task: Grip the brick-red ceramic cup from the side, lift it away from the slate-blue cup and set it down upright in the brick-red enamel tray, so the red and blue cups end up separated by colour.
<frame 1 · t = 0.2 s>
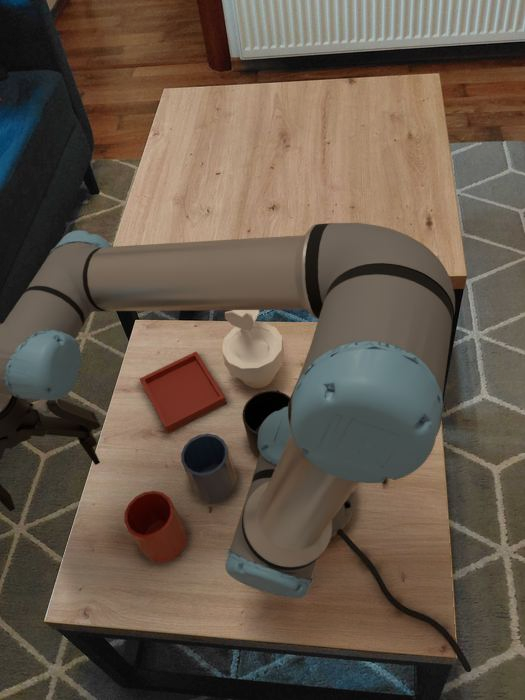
hand: (53, 480, 97), 19 cm above the table, tool pointing down, fingers open, 13 cm apart
potted plant: (260, 374, 129), on the table
knife: (407, 366, 125), on the table
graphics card: (339, 368, 127), on the table
red tray: (183, 393, 128), on the table
red cup: (164, 539, 109), on the table
walkie-talkie: (393, 409, 118), point 1 cm above the table
blue cup: (215, 482, 115), on the table
mug: (276, 434, 120), on the table
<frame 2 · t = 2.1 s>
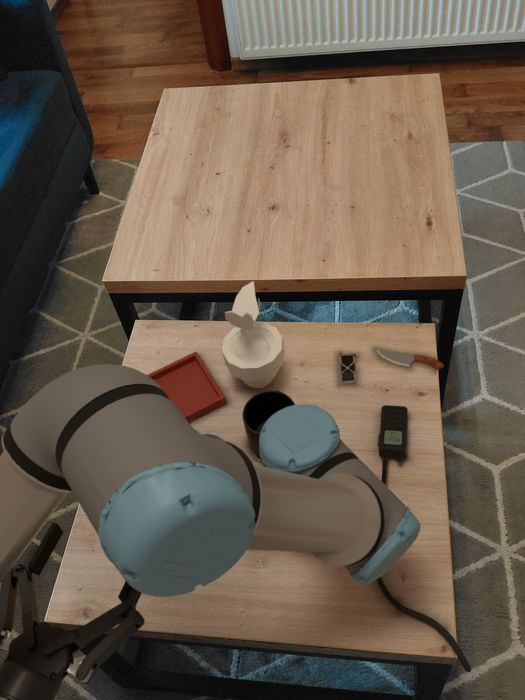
hand: (101, 540, 88), 20 cm above the table, tool horizontal, fingers open, 13 cm apart
nothing on the table moved.
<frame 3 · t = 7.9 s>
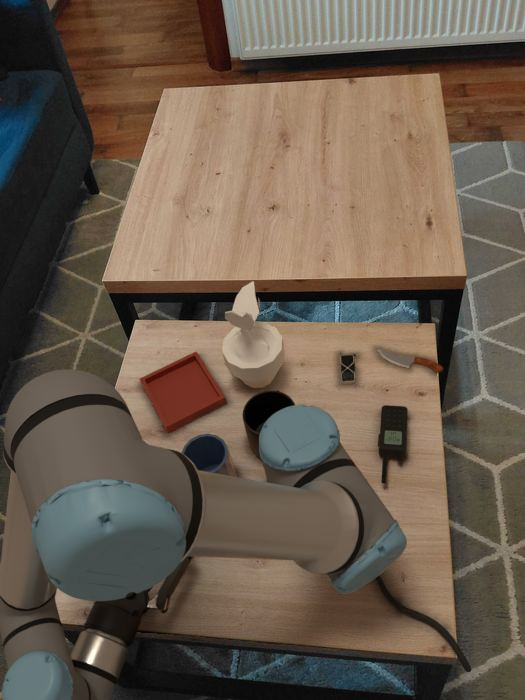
hand: (166, 498, 107), 6 cm above the table, tool horizontal, fingers closed on red cup, 8 cm apart
red cup: (164, 539, 109), on the table, touching gripper
everything else where it was.
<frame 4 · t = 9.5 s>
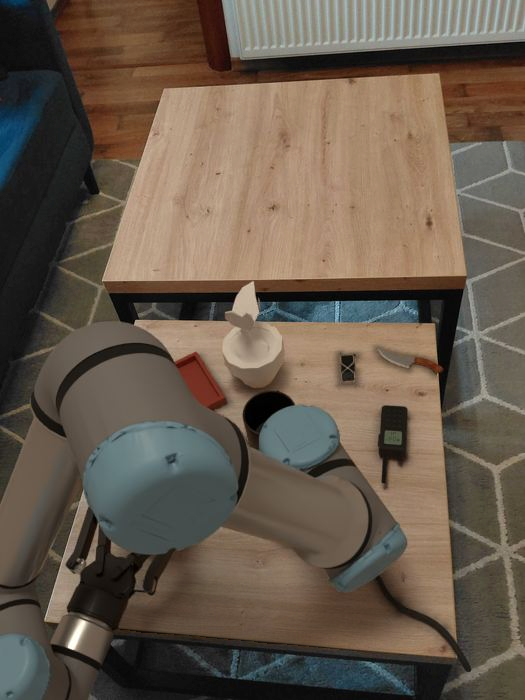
hand: (155, 476, 101), 13 cm above the table, tool horizontal, fingers closed on red cup, 8 cm apart
red cup: (153, 520, 103), point 7 cm above the table, touching gripper
everything else where it was.
when the fingers open (6 cm above the table, at t = 19.2 s): red cup stays where it is, resting on red tray.
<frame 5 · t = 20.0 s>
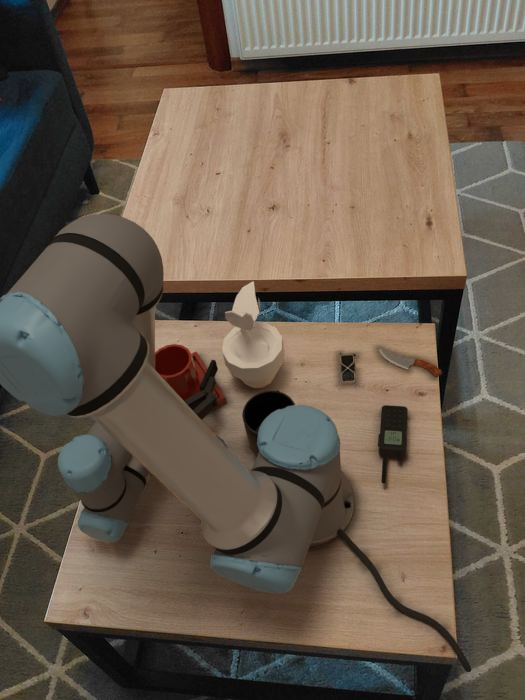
hand: (182, 358, 124), 7 cm above the table, tool horizontal, fingers open, 13 cm apart
red cup: (182, 392, 128), point 1 cm above the table, touching red tray
everything else where it was.
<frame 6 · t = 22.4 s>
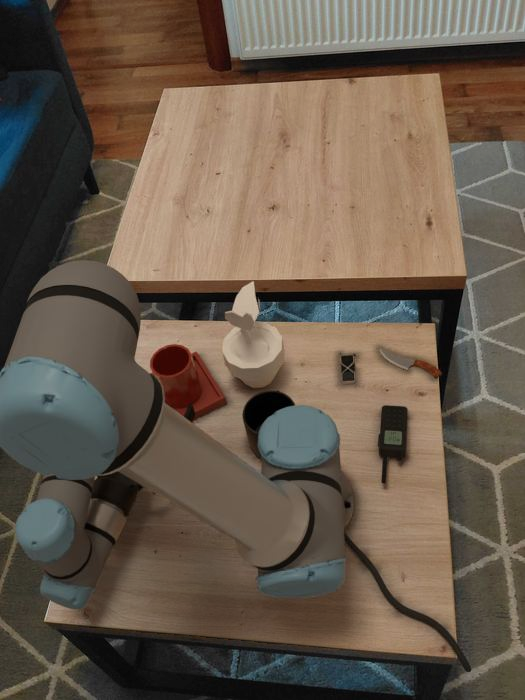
hand: (158, 402, 117), 8 cm above the table, tool horizontal, fingers open, 13 cm apart
blue cup: (215, 490, 114), on the table, touching hand
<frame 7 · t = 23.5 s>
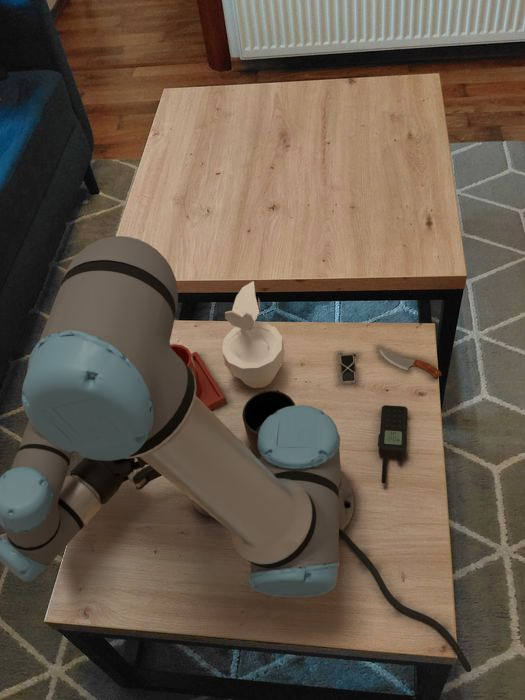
hand: (172, 400, 114), 11 cm above the table, tool horizontal, fingers open, 13 cm apart
blue cup: (213, 494, 113), point 1 cm above the table, tilted 10°
everything else where it was.
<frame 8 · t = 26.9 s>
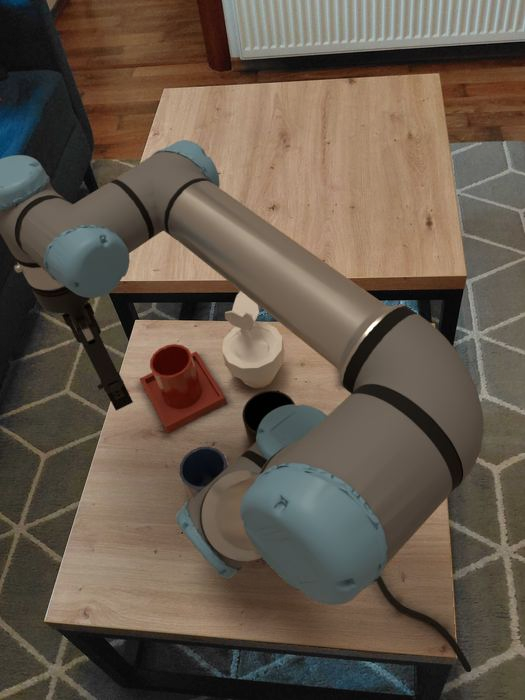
hand: (108, 373, 99), 27 cm above the table, tool pointing down, fingers open, 13 cm apart
blue cup: (214, 495, 113), on the table
at the end: red cup inside the target area in the red tray (0.1 cm from its centre), point 0.6 cm above the red tray's base; red cup tilted 0°; blue cup moved 2.5 cm from its start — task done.
